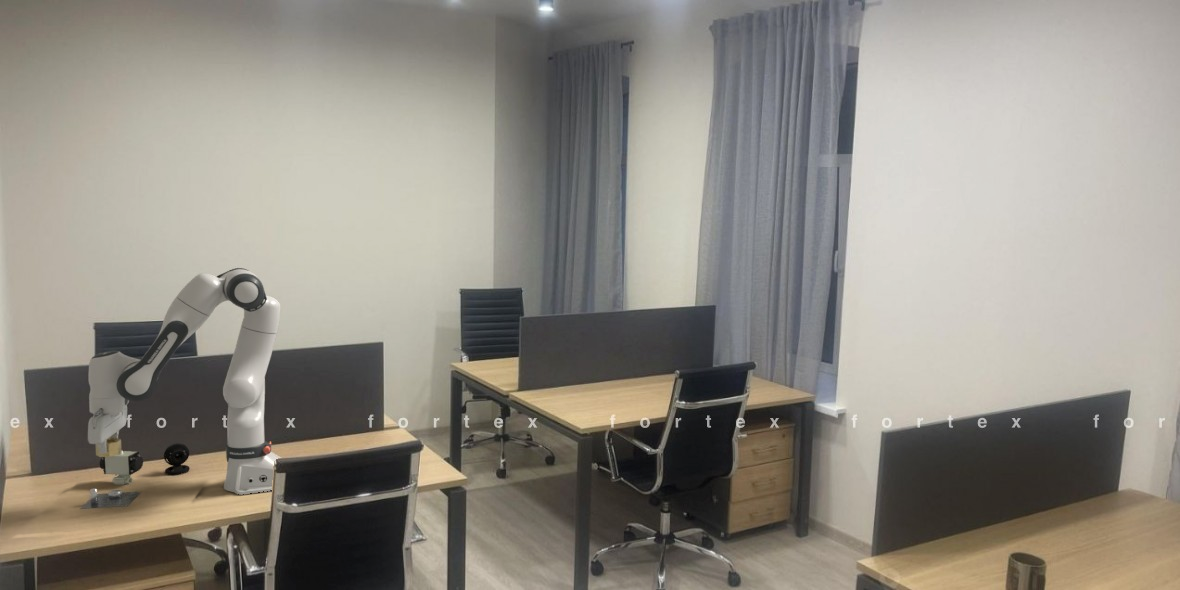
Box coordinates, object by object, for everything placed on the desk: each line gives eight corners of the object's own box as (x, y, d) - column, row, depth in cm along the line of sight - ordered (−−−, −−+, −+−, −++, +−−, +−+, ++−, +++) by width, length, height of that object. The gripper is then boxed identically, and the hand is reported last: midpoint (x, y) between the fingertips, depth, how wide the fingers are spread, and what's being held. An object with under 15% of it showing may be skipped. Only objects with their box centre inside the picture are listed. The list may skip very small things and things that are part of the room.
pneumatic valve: (135, 489, 243) (134, 453, 242) (100, 488, 244) (98, 452, 242) (146, 482, 249) (144, 447, 248) (111, 481, 249) (109, 446, 248)
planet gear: (123, 450, 231) (123, 437, 231) (116, 456, 226) (115, 443, 225) (101, 450, 230) (101, 438, 230) (93, 457, 224) (93, 444, 224)
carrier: (142, 494, 239) (141, 478, 238) (127, 509, 227) (127, 492, 227) (96, 497, 236) (95, 480, 235) (79, 512, 224) (78, 494, 224)
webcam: (166, 477, 255) (165, 448, 253) (162, 471, 260) (161, 442, 259) (192, 472, 259) (191, 444, 258) (187, 466, 265) (186, 439, 264)
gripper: (105, 413, 217) (106, 460, 218) (130, 396, 237) (131, 439, 238) (80, 414, 215) (82, 461, 217) (108, 396, 235) (109, 439, 237)
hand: (108, 449), depth 228 cm, fingers closed on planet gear, 6 cm apart
